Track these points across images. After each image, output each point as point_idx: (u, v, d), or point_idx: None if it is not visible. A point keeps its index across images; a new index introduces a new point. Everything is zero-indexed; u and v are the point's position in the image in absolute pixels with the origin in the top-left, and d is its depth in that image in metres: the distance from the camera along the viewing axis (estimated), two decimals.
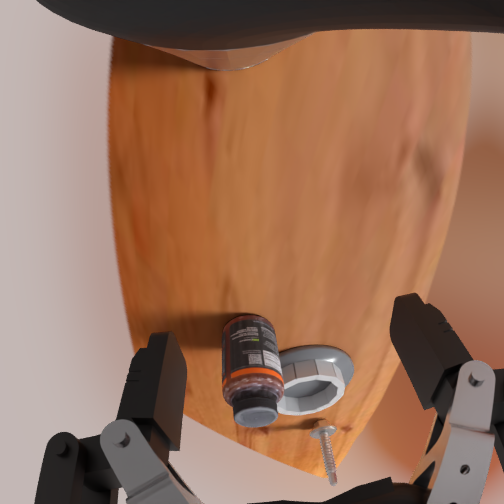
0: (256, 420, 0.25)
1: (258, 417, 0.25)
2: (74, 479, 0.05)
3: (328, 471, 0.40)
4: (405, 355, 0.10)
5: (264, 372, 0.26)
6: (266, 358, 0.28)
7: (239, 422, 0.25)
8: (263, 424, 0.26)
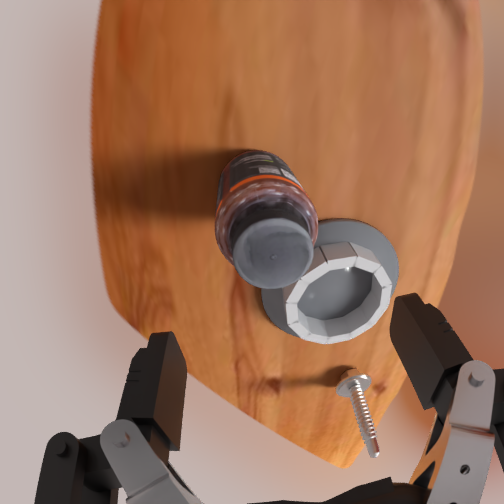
0: (275, 261, 0.15)
1: (278, 252, 0.15)
2: (74, 479, 0.05)
3: (366, 437, 0.29)
4: (405, 355, 0.10)
5: (285, 180, 0.17)
6: (286, 174, 0.18)
7: (242, 269, 0.15)
8: (286, 279, 0.16)
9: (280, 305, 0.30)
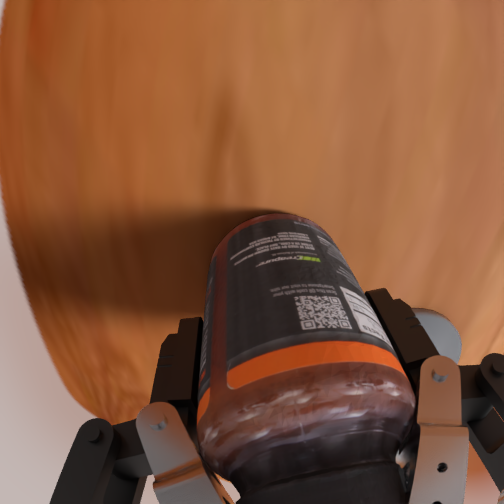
0: None
1: None
2: (103, 468, 0.06)
3: None
4: None
5: (369, 359, 0.06)
6: (358, 311, 0.08)
7: None
8: None
9: None
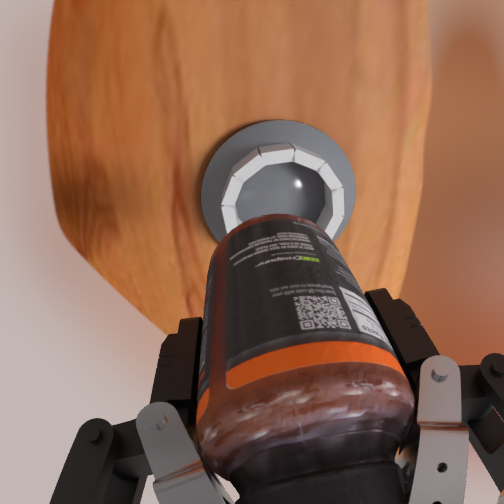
0: None
1: None
2: (103, 468, 0.06)
3: None
4: None
5: (368, 359, 0.06)
6: (357, 311, 0.08)
7: None
8: None
9: (223, 219, 0.28)
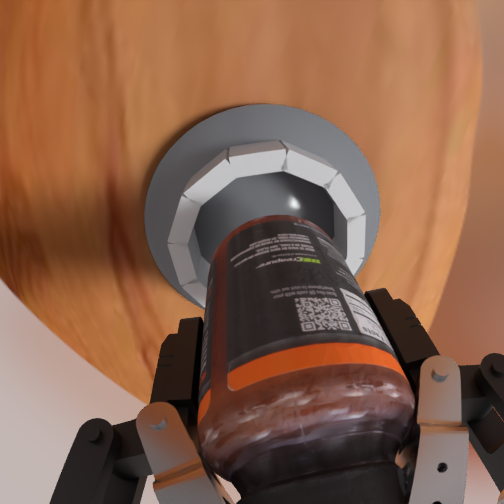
0: None
1: None
2: (103, 468, 0.06)
3: None
4: None
5: (369, 360, 0.06)
6: (358, 312, 0.08)
7: None
8: None
9: None
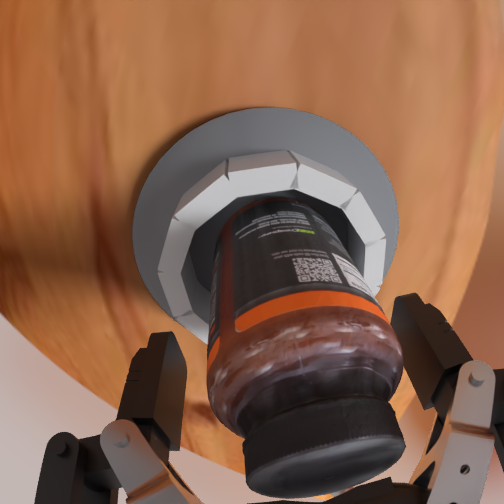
0: (329, 480, 0.06)
1: (338, 473, 0.06)
2: (74, 479, 0.05)
3: None
4: (405, 355, 0.10)
5: (357, 305, 0.07)
6: (347, 271, 0.09)
7: (266, 492, 0.06)
8: (343, 487, 0.07)
9: None
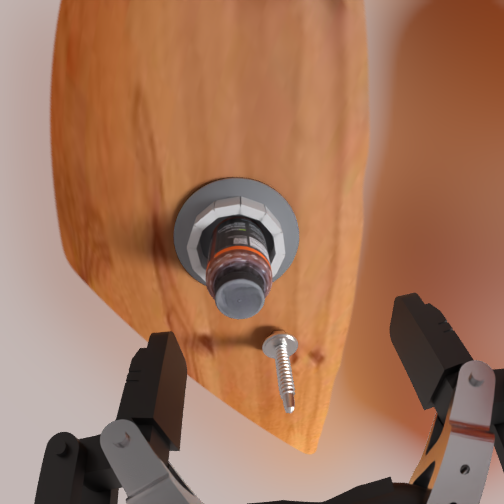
0: (240, 303, 0.25)
1: (242, 298, 0.25)
2: (74, 479, 0.05)
3: (282, 392, 0.34)
4: (405, 355, 0.10)
5: (249, 249, 0.26)
6: (252, 242, 0.28)
7: (221, 307, 0.25)
8: (249, 313, 0.25)
9: None
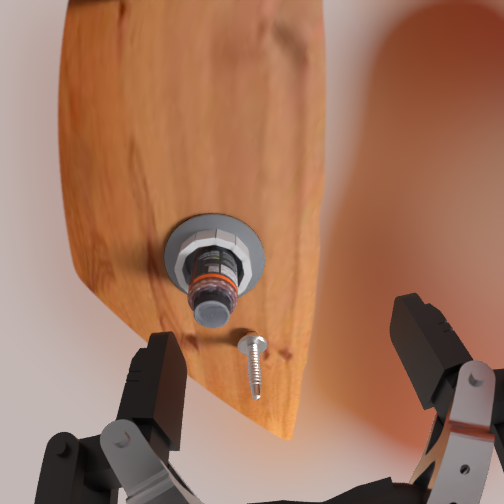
0: (212, 317, 0.33)
1: (213, 313, 0.33)
2: (74, 479, 0.05)
3: (251, 383, 0.43)
4: (405, 355, 0.10)
5: (219, 277, 0.35)
6: (223, 269, 0.37)
7: (198, 320, 0.34)
8: (219, 324, 0.34)
9: None
